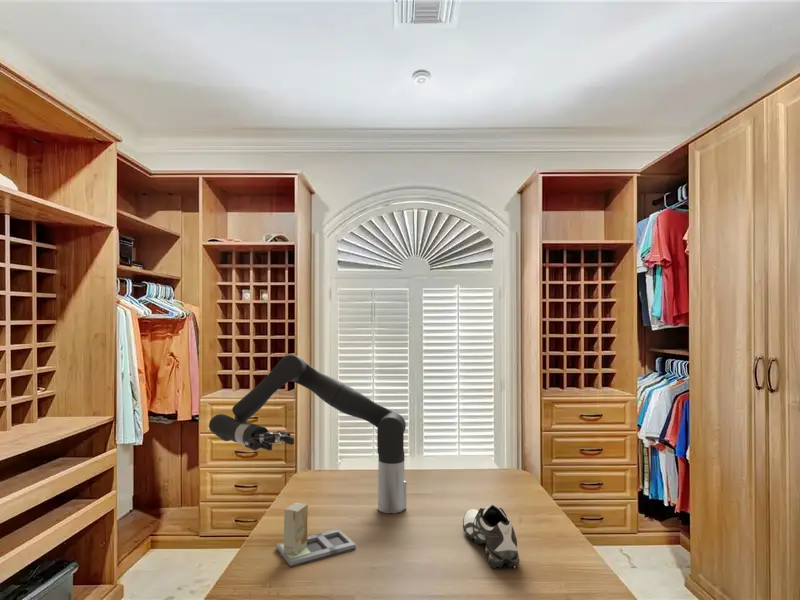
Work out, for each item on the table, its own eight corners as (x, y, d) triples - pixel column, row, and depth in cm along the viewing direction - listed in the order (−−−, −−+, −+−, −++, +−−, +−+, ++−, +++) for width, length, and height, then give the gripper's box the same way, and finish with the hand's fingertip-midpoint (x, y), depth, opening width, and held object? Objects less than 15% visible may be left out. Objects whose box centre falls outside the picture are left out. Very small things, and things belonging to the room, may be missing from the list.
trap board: (338, 533, 158) (338, 527, 158) (355, 549, 148) (355, 543, 148) (276, 549, 148) (276, 543, 148) (290, 567, 138) (290, 561, 138)
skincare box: (296, 555, 141) (296, 511, 141) (282, 552, 142) (283, 509, 142) (308, 545, 147) (308, 503, 147) (295, 542, 148) (295, 501, 148)
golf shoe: (487, 523, 167) (488, 481, 167) (534, 569, 138) (534, 518, 138) (454, 527, 164) (455, 483, 164) (495, 575, 135) (496, 522, 135)
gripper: (233, 428, 163) (263, 436, 153) (269, 420, 174) (300, 427, 164) (232, 451, 163) (263, 461, 153) (269, 442, 174) (299, 450, 164)
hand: (282, 444), depth 158 cm, fingers open, 8 cm apart
